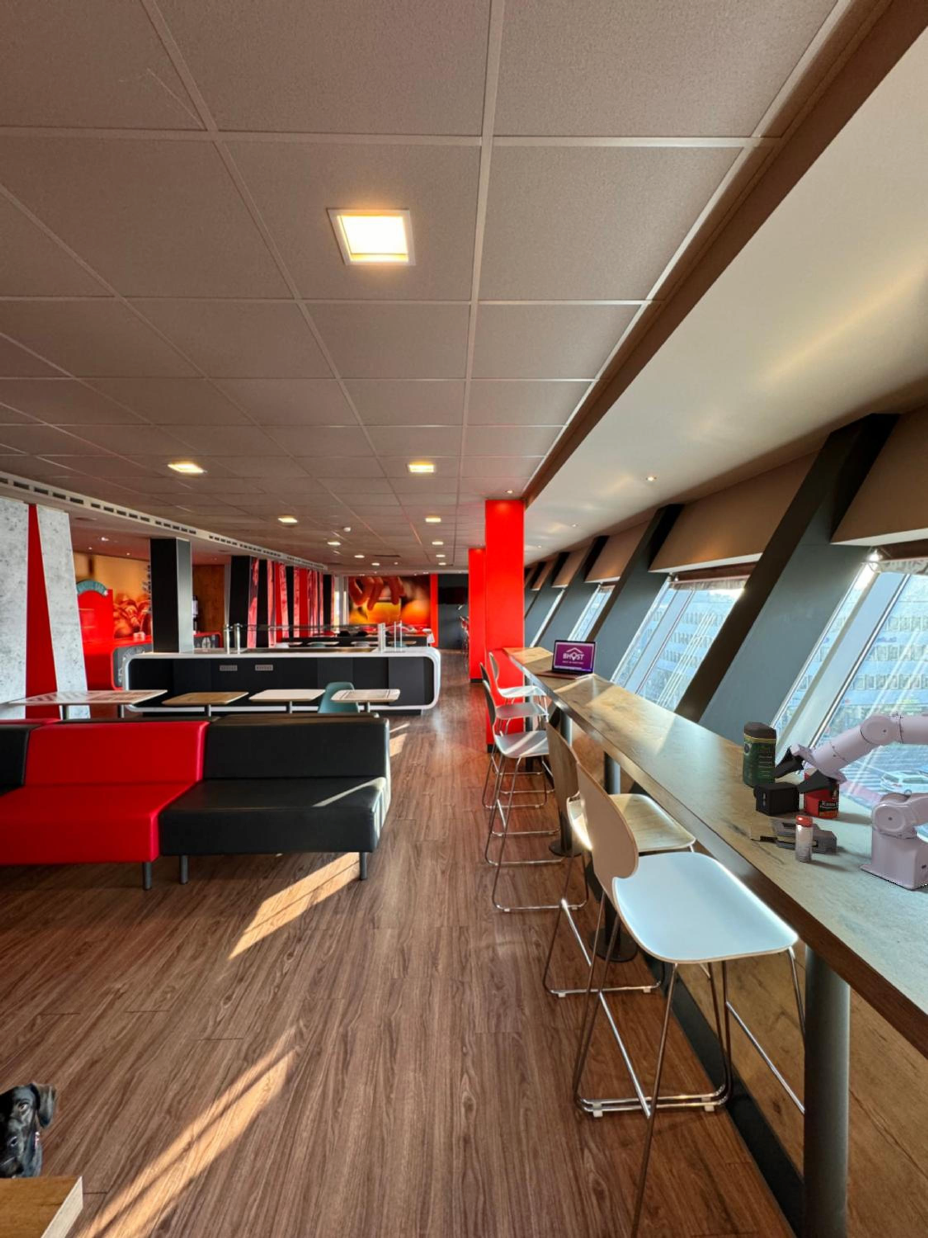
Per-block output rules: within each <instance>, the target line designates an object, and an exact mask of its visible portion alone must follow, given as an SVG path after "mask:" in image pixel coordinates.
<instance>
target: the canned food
mask: <svg viewBox="0 0 928 1238" xmlns="http://www.w3.org/2000/svg"><path fill="white" fill-rule="evenodd" d="M816 770H817V768H815V767H808V768H804V770H803V772H804V775H803V781H804V780H805V779H807V778H808V777H810V776H811V775H812V774H813V773H814V772H815V771H816ZM836 785H837V789H835V790H820V791H814V792H809V793H805V794H803V805H802V806H803V807H802V808H803V811H804V813H805V814H807V816H810V817H812V818H813V817H814V818H817V819H823V820H835V819H837V818H838V816H839V810H840V809H839V808H840V805H839V804H840V786H841V785H839V784H837V783H836Z"/></svg>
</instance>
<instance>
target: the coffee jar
mask: <svg viewBox="0 0 928 1238" xmlns="http://www.w3.org/2000/svg"><path fill="white" fill-rule="evenodd" d="M777 738H778V737H777V730H776V729H775V728H773V727H772V726H768V725H767V724H764V723H763V722H759V721H748V722H747V723H746V724H744V727H743V758H742V759H743V760H742V761H743V762H742V775H741V779H742V781H743V782H744V783H745V784H747V785H748V786H749V787H753V788H754V787H755V786H756V785H757V784H758V783H763V784H768V783H776V778H775V777H774V775H773V772H772V770H773V769H774V768H775V767H776V751H777V750H776V749H777V746H776V745H777V741H778V740H777Z"/></svg>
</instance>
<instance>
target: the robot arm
mask: <svg viewBox="0 0 928 1238" xmlns="http://www.w3.org/2000/svg"><path fill="white" fill-rule="evenodd" d="M893 742H896V743H898V744H901V745H918V746H919V745H920V746H928V711H922V712H921V714H899V712H897V711H892V712H891V713H890V715H889V714H888V713H884V712H879V713H874V714H870V715H869V716H868V717H867V718H865V719H864V720H863V721H862V722H861V723H859V724H856V725H855V726H853V728H852V727H851V728H848V729H846V730H845V731H843V732H842V733H840V734H838V735H836V736H835V737H833V738H832V739H831V738H830V740H828V741H826V742H824V743H823V744H821V745H819V746H818V747H814V746H812V747H811V748H810V747H807V746H803V745H802V744H800V743H797V742H796V743H795V744H793V745H789V746H787V749H786V751H785V754H784V756H783V757H782V759H781V760H780V762H779V763H777V765H775V768H774V769H773V770H772V772H773V775H774V777H775V780H776V779H781V778H783V777H786V776H787V775H790V774H792V773H795V772H798V771H805V767H804V765H803V763H804V761H805V762H806V763H808V765H811V766H813V768H817V770H816V771H815V772H814V773H813V774H812V775H811V776H810V777H808V778H807V779H805V780H804V779H803V780H802V781H801V782H799V783H798V784H796V785H797V789H798V791H799V793H800V795H804V794H805V793H809V792H814V791H820V790H835V789H837V785H836V783H837V784H839V785H840V786H841V785H842V784H845V783H847V782H848V779H847V777H846V775H845V773H843V772H842V771H841V769H844V768H845V767H847V766H848V765H851V764H852V763H854V762H856V761H858V760H859V759H861V758H863V757H865V756H867V755H869V754H870V753H872V751H873V750H875V749H876V748H878V747H880V746H882V747H885V746H889V745H891V744H892V743H893ZM870 816H871V820H872V823H871V843H870V844H871V845H870V848H871V850H870V863H867V864H863V865H860V869H861V870H863V871H866V872H868V873H870V874H872V875H875V876H877V877H879V878H881V877H882V878H881V879H884V880H887V881H888V880H889V882H891V883H893V882H894V883H893V884H895V883H896V885H898V886H900V885H901V886H900V887H902V886H903V888H905V889H907V890H914V889H915V890H916V889H918V887H919V888H921V887H920V886H922V887H924V886H923V885H925V884H928V842H927V841H925V840H924V839H922V838H921V837H919V835H918V831H917V830H916V828H917V827H921V826H924V825H926V824H928V792H913V793H903V792H899V791H898V792H897V791H894V792H893V791H891V792H888V793H886V794H883V796H882V797H881V798H880V801H879V802H878V803H877V804H875V805H874V806H873V807H872V810H871V813H870ZM915 827H916V828H915Z"/></svg>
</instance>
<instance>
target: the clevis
mask: <svg viewBox="0 0 928 1238" xmlns="http://www.w3.org/2000/svg"><path fill="white" fill-rule="evenodd" d="M769 822H770V824H771V826H769V825H768V826H767V825H761V824H754V823H752V824H751V823H748V825H747V826H748V827H747V830H748V831H747V834H749V835H748V837H749V839H750V840H751V839H754V840H753V841H760V842H761V836H763V837H771V838H772V839H773V842H774V844H775V846H776V848H784V849H791V850H795V845H796V820H791V819H790V820H789V819H781V818H775V817H774V818H773V817H770V821H769ZM837 840H838V838H837V836H836V835H835V833H834V832H833V831H832V830H825V829H821V828H820V826H819V824H818V823H817V822H816V823H815V822H813V834H812V853H813V852H814V853H820V854H827V851H830V852H837V848H838V847H837V845H838V844H837V843H838V841H837Z"/></svg>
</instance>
